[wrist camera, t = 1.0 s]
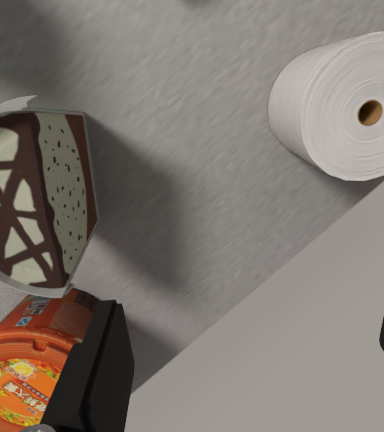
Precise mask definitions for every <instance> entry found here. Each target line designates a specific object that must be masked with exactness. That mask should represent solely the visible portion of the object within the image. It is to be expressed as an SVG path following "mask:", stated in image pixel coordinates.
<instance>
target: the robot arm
mask: <svg viewBox="0 0 384 432" xmlns="http://www.w3.org/2000/svg"><path fill="white" fill-rule="evenodd" d="M379 341H380V345H381V347H382V349H383V351H384V318H383V323H382V328H381V333H380V339H379ZM133 375H134V358H133V354H132V349H131V344H130V339H129V335H128V330H127V325H126V321H125V316H124V311H123V307H122V304H117V302H116V300H107V301H99V302H98V303H97V305H96V308H95V310H94V313H93V315H92V318H91V321H90V323H89V326H88V328H87V331H86V334H85V336H84V339H83V341H82V343H75V344H74V345H73V346H72V348H71V350H70V352H69V354H68V357H67V359H66V362H65V364H64V366H63V369H62V371H61V373H60V376H59V378H58V381H57V383H56V385H55V388H54V390H53V392H52V395H51V397H50V400H49V402H48V404H47V407H46V409H45V411H44V414H43V416H42V419H41V421H40V423H39V424H35V425H32V426H28V427H26V428H24V429H22V430H20V431H19V432H124V429H125V423H126V417H127V410H128V405H129V399H130V393H131V387H132V381H133Z"/></svg>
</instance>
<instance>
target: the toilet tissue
mask: <svg viewBox="0 0 384 432" xmlns="http://www.w3.org/2000/svg"><path fill="white" fill-rule="evenodd" d="M268 117H269V122H270V126H271V129H272V131H273V133H274V135H275V136H276V138H277V140H278V141H279V142H280V143H281V144H282V145H283V146H284V147H285V148H286V149H288V150H290V151H291V152H293V153H294V154H296V155H299V156H300V157H301V158H303V159H305V160H306V161H307V162H309V163H311V164H312V165H314V166H317V167H318V168H319V169H320V170H322V171H324V172H326V173H327V174H329V175H331V176H334V177H338V178H341V179H343V180H345V181H349V180H355V181H366V180H370V179H373V178H377V177H380V176H383V175H384V31H383V32H375V33H370V34H366V35H361V36H357V37H352V38H349V39H345V40H342V41H339V42H336V43H333V44H327V45H325V46H320V47H317V48H314V49H311V50H309V51H307V52H304V53H303V54H301V55H299V56H298V57H296V58H295V59H293V60H292V61H291V62H290V63H289V64H288V65H286V67H285V68H284V69H283V70H282V72H281V73H280V74H279V76H278V77H277V79H276V81H275V83H274V85H273V87H272V90H271V93H270V97H269V103H268Z"/></svg>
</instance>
